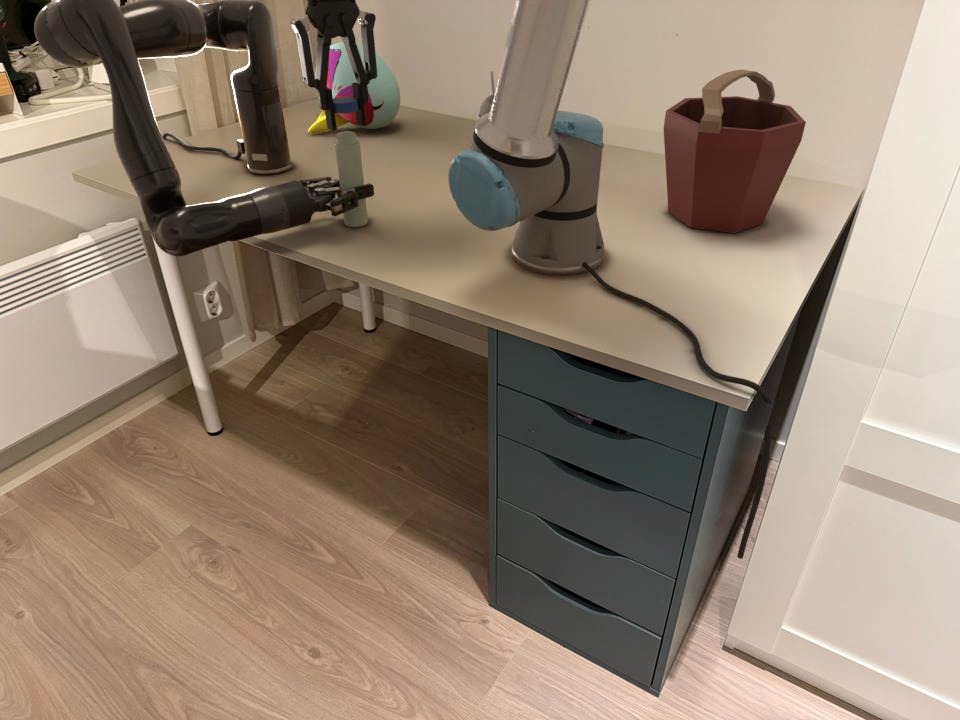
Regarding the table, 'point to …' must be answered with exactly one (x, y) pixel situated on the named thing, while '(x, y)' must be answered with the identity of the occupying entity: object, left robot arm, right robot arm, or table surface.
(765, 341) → the table surface
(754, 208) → the bucket
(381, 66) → the toy
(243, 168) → the table surface
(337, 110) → the lid
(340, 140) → the bottle
